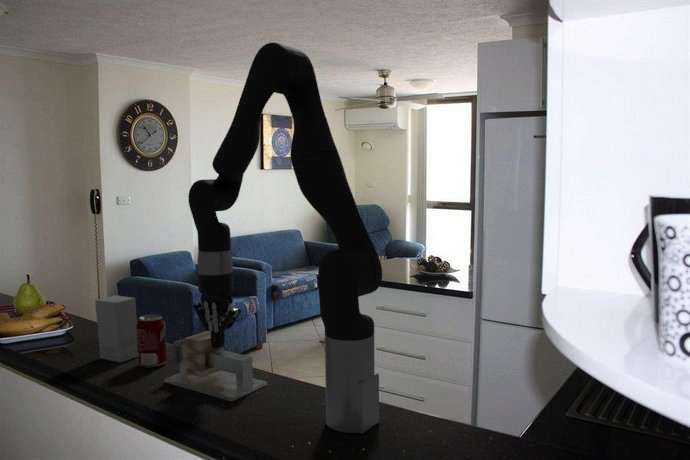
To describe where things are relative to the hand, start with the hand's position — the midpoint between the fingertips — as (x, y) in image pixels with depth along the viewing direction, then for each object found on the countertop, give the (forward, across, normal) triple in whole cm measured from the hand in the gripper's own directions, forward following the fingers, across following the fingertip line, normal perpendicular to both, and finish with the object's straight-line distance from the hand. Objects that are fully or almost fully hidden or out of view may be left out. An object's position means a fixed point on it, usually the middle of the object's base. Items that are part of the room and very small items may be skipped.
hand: (218, 347), depth 132 cm
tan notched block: (+6, +4, 0) cm, 8 cm away
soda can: (+9, +24, -1) cm, 26 cm away
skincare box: (+9, +36, 0) cm, 37 cm away
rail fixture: (+9, +1, 0) cm, 9 cm away
